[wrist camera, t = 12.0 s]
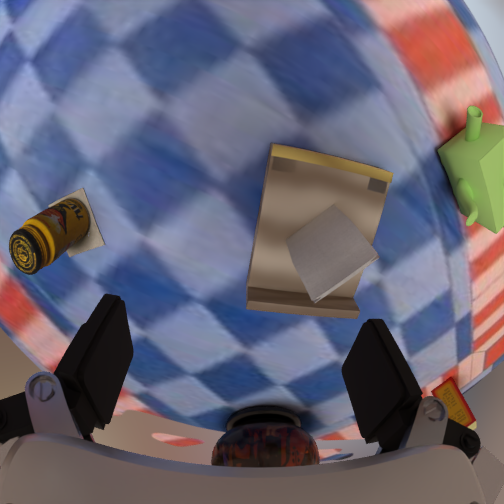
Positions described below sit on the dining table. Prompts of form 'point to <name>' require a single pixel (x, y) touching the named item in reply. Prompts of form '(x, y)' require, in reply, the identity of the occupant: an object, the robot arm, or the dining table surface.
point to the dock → (301, 213)
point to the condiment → (55, 233)
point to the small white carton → (329, 252)
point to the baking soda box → (455, 403)
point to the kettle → (477, 170)
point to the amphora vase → (265, 440)
